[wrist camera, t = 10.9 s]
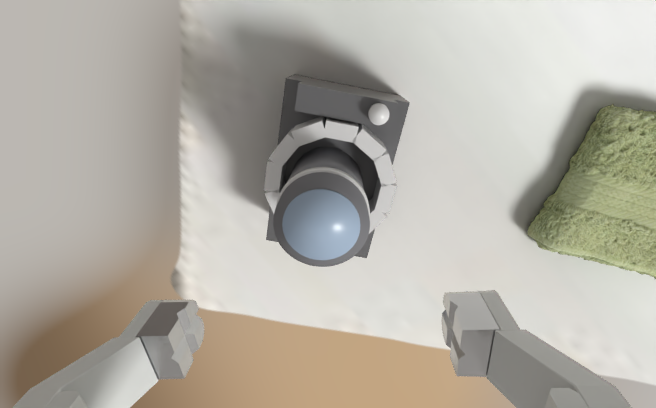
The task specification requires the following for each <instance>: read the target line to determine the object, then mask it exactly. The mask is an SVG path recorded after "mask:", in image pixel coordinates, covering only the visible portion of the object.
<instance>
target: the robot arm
mask: <svg viewBox="0 0 656 408" xmlns="http://www.w3.org/2000/svg"><path fill="white" fill-rule="evenodd" d="M443 304H444V307H445V309H446V310H445V311H444V312H443V313H442V331H443V336H444V339H445V343H446V345H447V346H449V347H450V348H451V353H450V358H451V361H452V363H453V367H454V370H455V372H456V375H457V376H480V377H481V376H482V377H487V379H488V380H489V381H490V382H491V383H492V384H493V385H494V386H495V387H496V388H497V389H498V390H499V391H500V392H501V393H502V394H503V395H504V396H505V397H506V398H507V399H508V400H509V401H510V402H511V403H512V404H513V405H514V406H515V407H516V408H632V407H631V406H630V404H629V403H628V402H627V400H626V399H625V398H624V397H623V396H622V394H621V393H620V392H619V390H618V389H617V388H616V387H615V386H614V385H612V384H611V383H609V382H607V381H606V380H604V379H603V378H601V377H600V376H598V375H597V374H595V373H593V372H592V371H590V370H589V369H587V368H585V367H584V366H582V365H581V364H579V363H578V362H576V361H574V360H573V359H571V358H570V357H568V356H566V355H565V354H563V353H562V352H560V351H559V350H557V349H555V348H554V347H552V346H551V345H549V344H547V343H546V342H544V341H543V340H541V339H540V338H538V337H536V336H535V335H533V334H532V333H530V332H528V331H527V330H520V328H519V327H518V325H517V323H516V322H515V320H514V319H513V317H512V315H511V314H510V312H509V310H508V309H507V307H506V306H505V304H504V302H503V301H502V299H501V298H500V296H499V294H498V293H497V292H496V291H495V290H492V291H478V292H449V293H445V294H444V298H443ZM198 309H199V308H198V306H197V303H196V301H194V300H150V301H148V302H146V304H145V305H144V306H143V307H142V308H141V310H140V311H139V312H138V314H137V315H136V316H135V317H134V319H133V320H132V321H131V322H130V324H129V325H128V326H127V328H126V329H125V330H124V331H123V333H122V334H121V335H120V336H119V338H113V339H111V340H109V341H108V342H106V343H105V344H103V345H101V346H100V347H98V348H96V349H95V350H93V351H91V352H90V353H88V354H87V355H85V356H84V357H82V358H80V359H78V360H77V361H75V362H73V363H72V364H70V365H69V366H67V367H65V368H64V369H62V370H60V371H59V372H57V373H56V374H54V375H52V376H51V377H49V378H47V379H46V380H44V381H42V382H41V383H39V384H38V385H36V386H34V387H33V388H31V389H29V391H28V392H27V393H26V394H25V395H24V396H23V397H22V398H21V399H20V400H19V401H18V402H17V404H16V405H15V406H14V407H13V408H130V407H131V406H132V405H133V404H134V403H135V402H136V401H137V400H138V399H139V398H141V396H143V395H144V394H145V393H146V392H147V391H148V390H149V389H150V388H151V387H152V386H153V385H154V384H156V383H157V382H158V379H181V378H185V376H186V374H187V372H188V370H189V368H190V366H191V364H192V362H193V357H192V353H194V352H195V351H196V350H198V349H199V347H200V345H201V343H202V341H203V336H204V324H203V321H202V319H201V318H200V317H199V316H197V315H196V313H197V311H198Z"/></svg>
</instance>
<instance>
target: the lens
mask: <svg viewBox="0 0 656 408" xmlns="http://www.w3.org/2000/svg"><path fill="white" fill-rule="evenodd" d="M273 227H274V232H275V235H276V238H277V240H278V242H279V244H280V245H281V246H282V248H283V249H284V250H285V251H286V252H287V253H288V254H289V255H290V256H291V257H293V258H295V259H296V260H298V261H300V262H302V263H305V264H308V265H312V266H319V267H326V266H333V265H337V264H340V263H343V262H345V261H347V260H349V259H350V258H352V257H353V256H355V255H356V254H357V253H358V252H359V251H360V250H361V248H362V247H363V246H364V244H365V242H366V240H367V238H368V235H369V230H370V208H369V203H368V199H367V196H366V194H365V192H364V187H363V182H362V177H361V172H360V169H359V167H358V165H357V163H356V162H355V161H354V159H353V158H352V157H351V156H350V155H348V154H347V153H345V152H344V151H342V150H339V149H336V148H331V147H321V148H316V149H313V150H311V151H309V152H307V153H305V154H304V155H303V156H302V157H301V158H300V159H299V160H298V161H297V163H296V164H295V166H294V168H293V171H292V173H291V175H290V177H289V179H288V182H287V183H286V184H285V186H284V187H283V189H282V191H281V193H280V195H279V197H278V200H277V204H276V209H275V212H274V217H273Z"/></svg>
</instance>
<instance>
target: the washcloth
mask: <svg viewBox="0 0 656 408" xmlns="http://www.w3.org/2000/svg"><path fill="white" fill-rule="evenodd" d="M569 166H570V168H569V171H568V172H567V173H566V174H565V176H564V178H563V179H562V181H561V182H560V185H559V187H558V189H557V190H556V192H555V194H552V195H551V196H549V197H548V198H547V200H546V201H545V202H544V204H543V205H544V208H543V209H541V210H540V213H539V214H538V215H537V216H536V217H535V219H534V221H533V222H531V224H530V226H529V228H528V233H527V234H528V236H529V237H531V238H533V239H534V240H535V241H536V242H537V244H538V247H539V248H542V249H545V250H549V251H551V252H558V253H559V254H562V255H564V254H567V255H572V256H577V257H582V258H584V260H591V261H595V262H599V263H601V264H603V263H604V264H606V265H611V266H616V267H619V268H622V269H625V270H629V271H636V272H638V273H640V274H648V275H650V276H652V277H654V278H655V279H656V112H654V111H643V110H640V111H637V110H633V109H631V108H625V107H616V106H614V104H612V105H611V106H606V107H604V108H601V109H600V110H599V112H598V114H597V116H596V120H595V122H593V123H592V124H591V126H590V130H589V131H588V132H587V134H586V136H585V139H584V141H583V142H582V144H581V145H580V147H579V148H578V151H577V153H576V154H575V155H574V156H573V157H572V158H571V160H570V161H569Z"/></svg>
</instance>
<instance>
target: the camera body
mask: <svg viewBox="0 0 656 408" xmlns="http://www.w3.org/2000/svg"><path fill="white" fill-rule="evenodd" d="M408 107H409V102H408V101H407V100H405V99H404V98H403V97H401V96H400V95H395V94H390V93H385V92H380V91H375V90H370V89H365V88H360V87H355V86H350V85H345V84H339V83H334V82H329V81H324V80H319V79H314V78H309V77H304V76H299V75H293V76H290V77H288V78H286V82H285V90H284V99H283V107H282V115H281V123H280V131H279V139H278V146H277V147H276V149H275V150H274V151H273V153H272V154H271V155H270V157H269V160H268V161H267V166H266V175H265V184H264V190H265V191H266V192H265V196H266V198H267V201H268V203H269V205H270V213H269V221H268V229H267V237H266V240H270V241H276V242H278V240H277V238H276V235H275V232H274V227H273V217H274V212H275V209H276V204H277V200H278V197H279V195H280V193H281V191H282V189H283V187H284V186H285V184H286V183H287V182H288V179H289V177H290V175H291V173H292V171H293V168H294V166H295V164H296V163H297V161H298V160H299V159H300V158H301V157H302V156H303V155H304V154H305V153H307V152H309V151H311V150H313V149H316V148H321V147H331V148H336V149H339V150H342V151H344V152H345V153H347V154H348V155H350V156H351V157H352V158H353V159H354V161H355V162H356V163H357V165H358V167H359V169H360V172H361V177H362V182H363V187H364V192H365V194H366V196H367V199H368V203H369V208H370V230H369V235H368V238H367V240H366V242H365V244H364V246H363V247H362V248H361V250H360V251H359V252H358V253H357V254H356V255H355V256H358V257H364V258H367V255H368V252H369V248H370V244H371V241H372V237H373V234H374V230H375V228H376V227H377V226H378V225H379V224H380V223H381V222H382V221H383V220H384V219H385V218H387V214H386V213H388V214H389V212H390V209H391V206H392V202H393V199H394V195H395V192H396V188H397V185H396V183H397V180H396V177H395V174H394V170H393V167H392V165H393V161H394V157H395V154H396V150H397V146H398V143H399V139H400V136H401V132H402V128H403V125H404V121H405V117H406V114H407V110H408Z"/></svg>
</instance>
